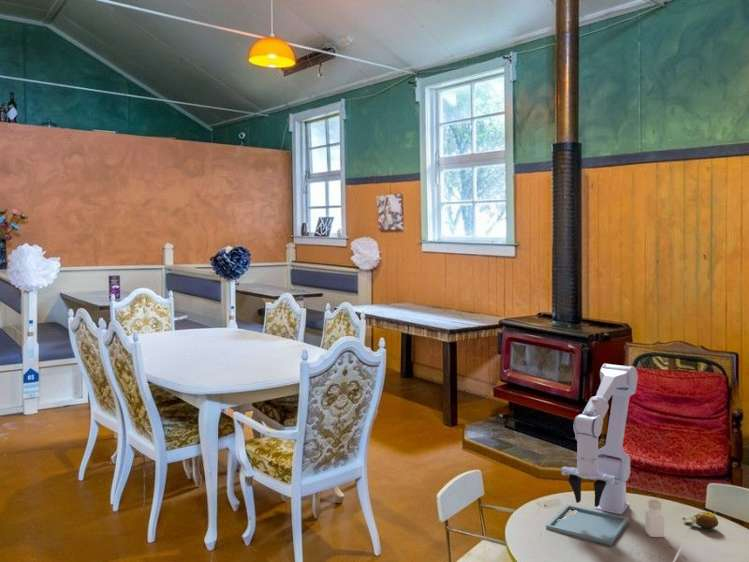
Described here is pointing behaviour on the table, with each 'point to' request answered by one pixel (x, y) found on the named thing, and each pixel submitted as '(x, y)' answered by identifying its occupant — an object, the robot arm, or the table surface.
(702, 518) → the chicken drumstick
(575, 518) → the tray
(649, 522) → the pepper shaker
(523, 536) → the table surface
